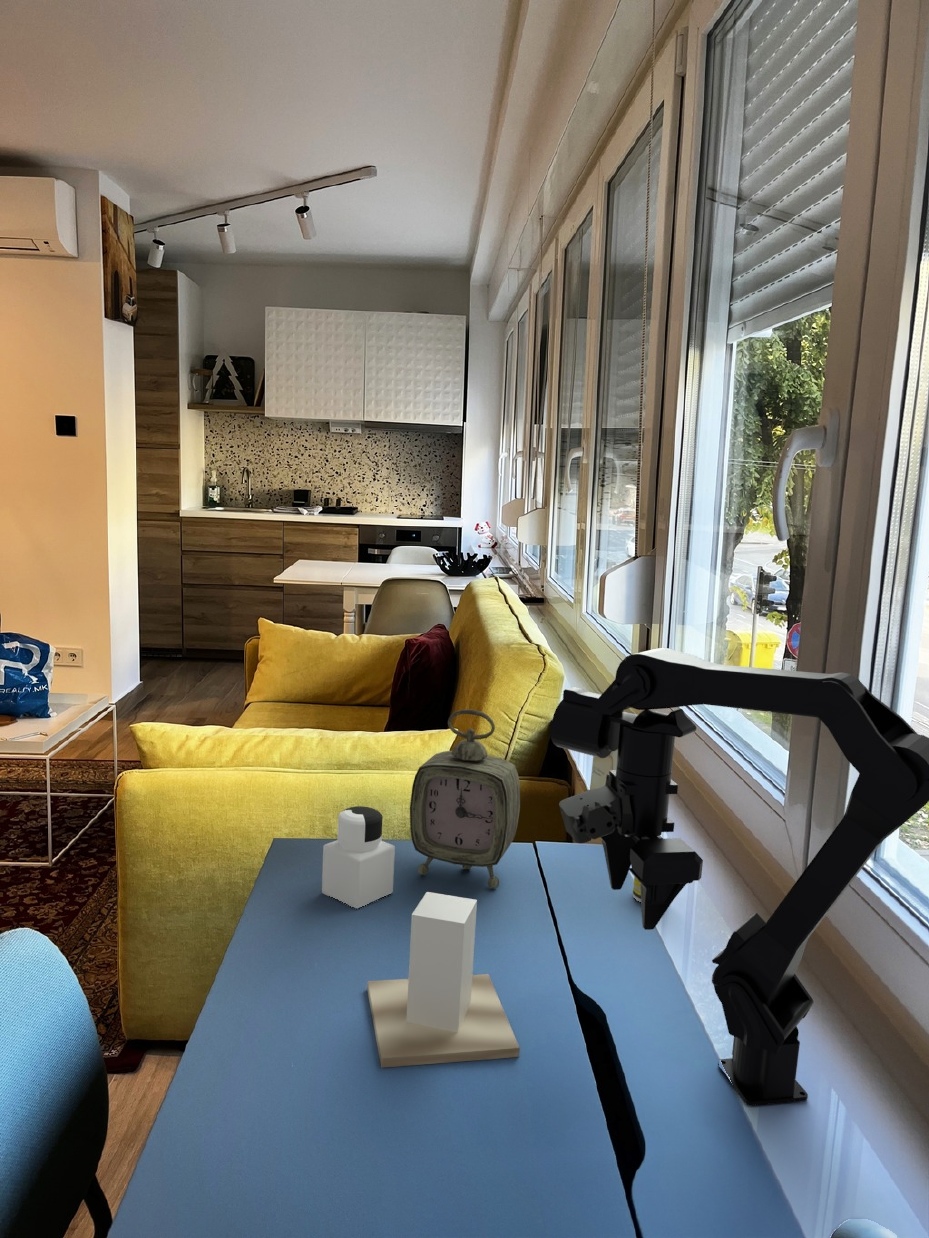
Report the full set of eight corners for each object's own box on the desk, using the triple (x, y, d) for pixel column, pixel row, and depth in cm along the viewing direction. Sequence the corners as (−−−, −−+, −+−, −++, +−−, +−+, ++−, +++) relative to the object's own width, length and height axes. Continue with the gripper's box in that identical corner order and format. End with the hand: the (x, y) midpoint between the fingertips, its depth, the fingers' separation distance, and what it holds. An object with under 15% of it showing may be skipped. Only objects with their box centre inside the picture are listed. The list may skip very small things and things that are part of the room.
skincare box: (587, 802, 169) (592, 738, 167) (608, 799, 171) (613, 736, 169) (606, 814, 163) (612, 748, 162) (627, 811, 165) (633, 746, 163)
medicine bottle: (357, 878, 132) (361, 798, 130) (393, 894, 128) (397, 811, 126) (320, 893, 127) (323, 810, 125) (356, 911, 122) (360, 825, 120)
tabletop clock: (406, 877, 133) (414, 710, 129) (427, 854, 142) (435, 696, 138) (502, 896, 129) (514, 723, 125) (518, 871, 137) (529, 708, 134)
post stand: (519, 1056, 93) (521, 1015, 92) (381, 1067, 90) (383, 1025, 89) (487, 981, 107) (490, 945, 106) (367, 989, 104) (368, 952, 103)
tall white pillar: (470, 1003, 100) (477, 899, 98) (458, 1032, 95) (464, 923, 93) (421, 993, 102) (426, 891, 100) (406, 1021, 96) (411, 914, 94)
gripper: (544, 742, 104) (535, 873, 106) (601, 800, 86) (588, 956, 88) (637, 742, 106) (626, 870, 108) (712, 798, 88) (696, 950, 90)
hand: (631, 908), depth 99 cm, fingers open, 9 cm apart
